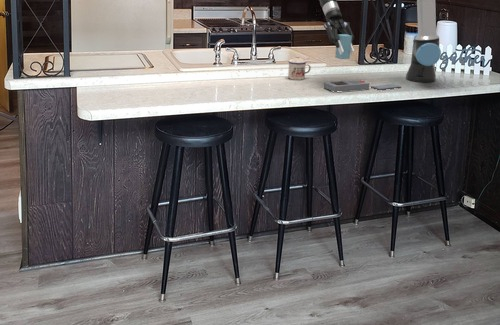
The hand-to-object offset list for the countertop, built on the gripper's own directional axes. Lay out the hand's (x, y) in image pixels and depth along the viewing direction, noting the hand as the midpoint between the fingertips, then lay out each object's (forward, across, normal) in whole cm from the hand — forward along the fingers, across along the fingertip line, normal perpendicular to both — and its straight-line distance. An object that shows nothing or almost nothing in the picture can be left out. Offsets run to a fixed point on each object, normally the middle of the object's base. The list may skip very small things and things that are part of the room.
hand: (347, 52), depth 310 cm
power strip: (+12, -2, -13) cm, 18 cm away
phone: (+16, -22, -10) cm, 29 cm away
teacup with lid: (-8, +9, -34) cm, 36 cm away
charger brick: (0, 0, -5) cm, 5 cm away
